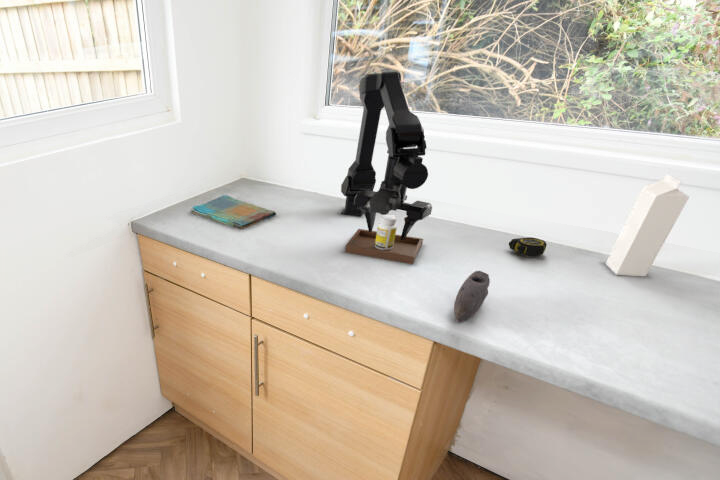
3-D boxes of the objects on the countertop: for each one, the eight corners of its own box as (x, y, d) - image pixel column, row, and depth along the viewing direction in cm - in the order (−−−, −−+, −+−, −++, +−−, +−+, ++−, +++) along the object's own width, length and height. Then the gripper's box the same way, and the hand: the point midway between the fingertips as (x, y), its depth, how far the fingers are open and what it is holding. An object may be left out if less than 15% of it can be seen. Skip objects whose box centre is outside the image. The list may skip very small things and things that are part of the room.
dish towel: (226, 200, 167) (225, 193, 165) (277, 215, 152) (277, 208, 151) (189, 213, 157) (189, 206, 156) (240, 231, 143) (240, 223, 141)
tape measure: (531, 247, 125) (536, 234, 123) (548, 258, 119) (554, 245, 117) (506, 249, 125) (510, 236, 123) (522, 260, 119) (527, 247, 117)
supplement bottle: (390, 243, 130) (396, 213, 125) (394, 250, 126) (400, 220, 121) (372, 243, 130) (377, 213, 125) (376, 250, 126) (381, 220, 122)
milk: (615, 275, 111) (663, 181, 98) (605, 263, 116) (649, 172, 103) (646, 276, 110) (698, 181, 97) (634, 265, 115) (682, 173, 102)
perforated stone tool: (468, 331, 95) (478, 302, 91) (441, 323, 98) (449, 294, 94) (487, 300, 104) (497, 272, 100) (462, 294, 107) (471, 266, 103)
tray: (357, 235, 137) (358, 228, 135) (421, 245, 129) (423, 238, 128) (344, 252, 128) (345, 245, 127) (412, 264, 120) (414, 256, 119)
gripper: (346, 177, 118) (339, 236, 127) (418, 192, 107) (405, 255, 116) (369, 167, 124) (360, 224, 133) (439, 180, 113) (425, 240, 122)
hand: (386, 235), depth 126 cm, fingers open, 9 cm apart
